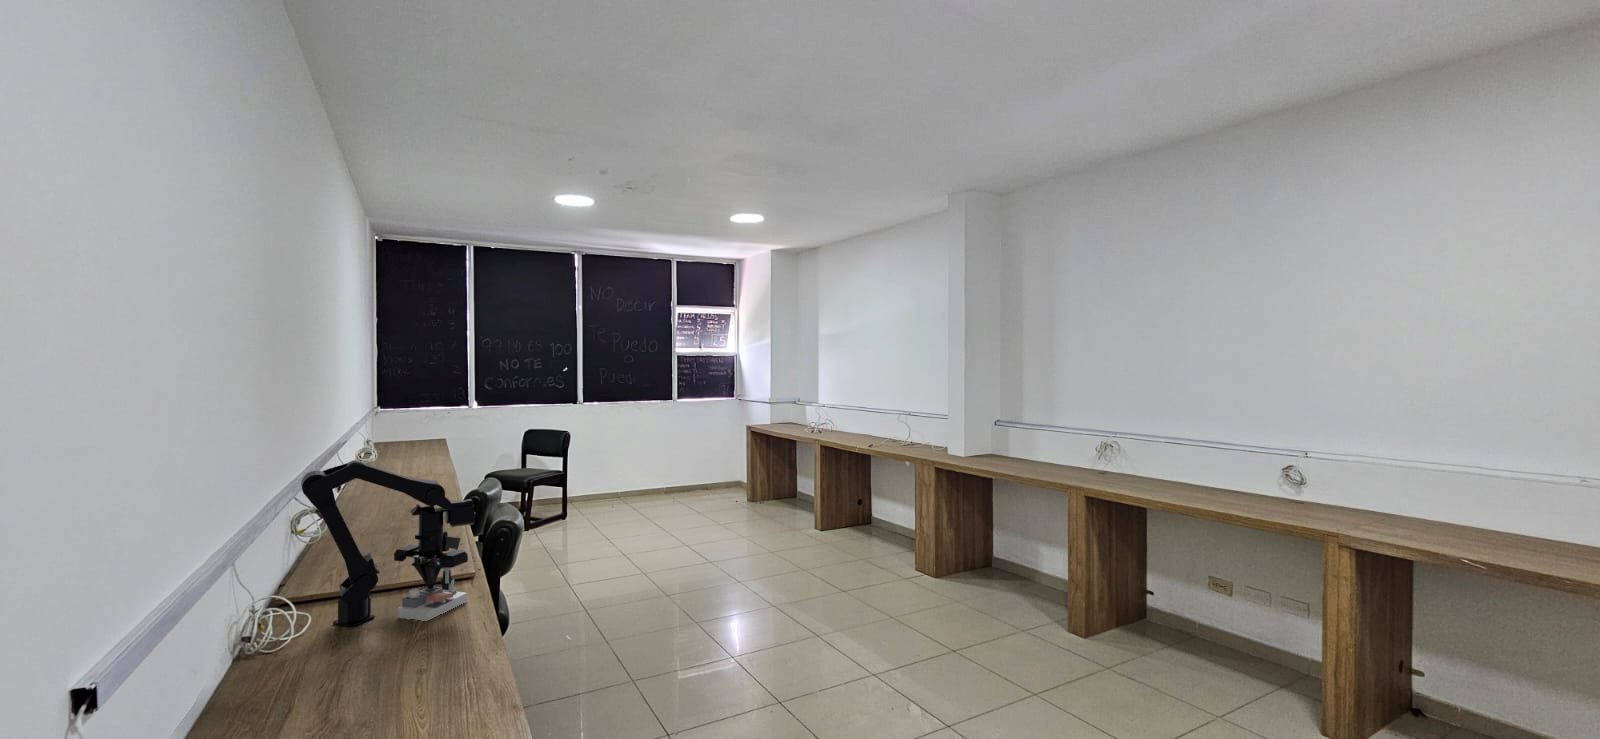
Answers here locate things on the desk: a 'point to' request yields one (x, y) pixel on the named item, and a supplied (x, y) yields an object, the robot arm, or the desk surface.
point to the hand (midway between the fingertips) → (430, 588)
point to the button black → (431, 589)
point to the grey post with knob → (446, 578)
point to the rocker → (439, 596)
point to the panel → (430, 604)
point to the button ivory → (414, 594)
